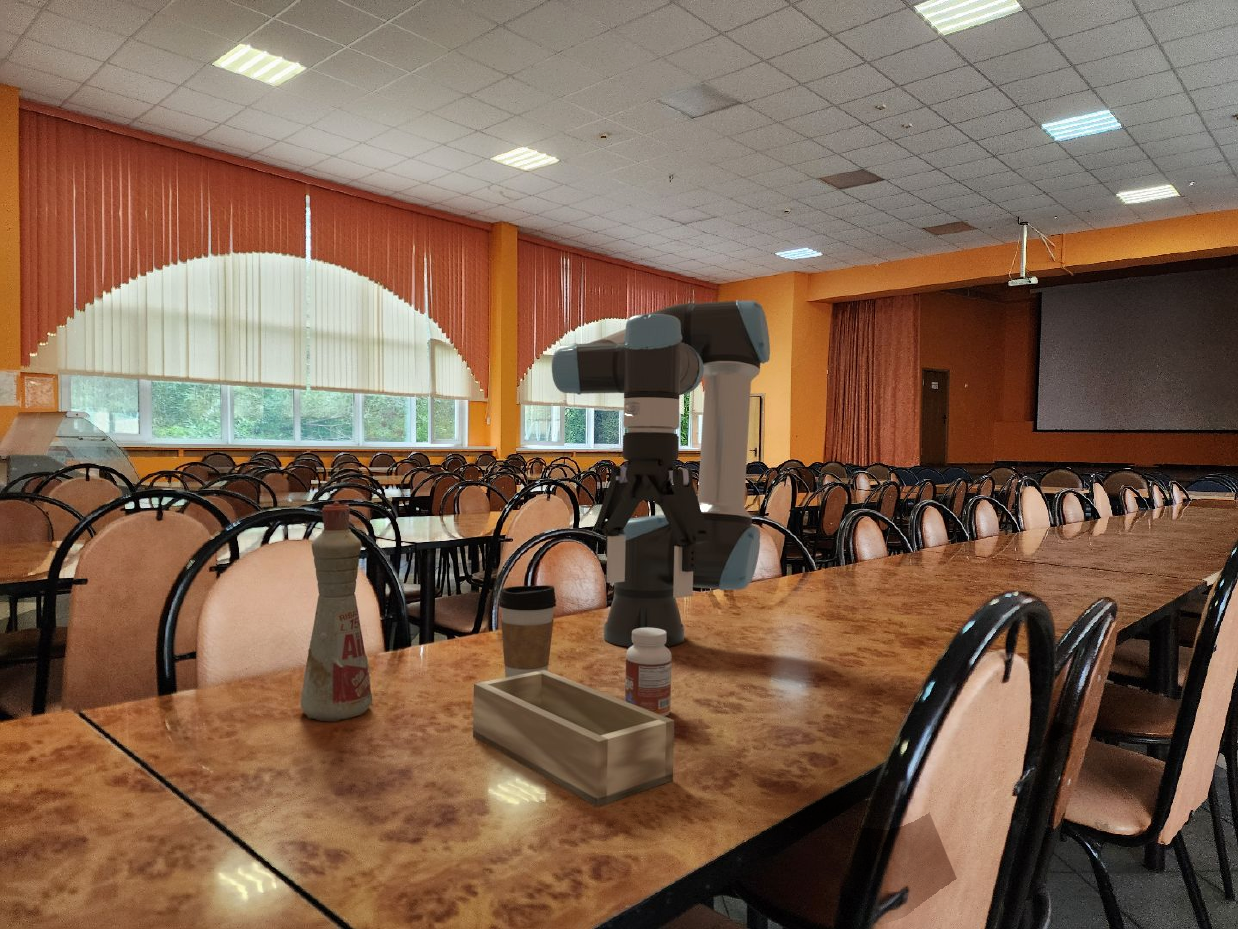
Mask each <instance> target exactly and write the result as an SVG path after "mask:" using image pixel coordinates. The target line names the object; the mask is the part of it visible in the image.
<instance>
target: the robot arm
mask: <svg viewBox="0 0 1238 929" xmlns="http://www.w3.org/2000/svg"><path fill="white" fill-rule="evenodd" d="M770 354H771V346H770V334H769V327H768V323H767V317H766V313H765V310H764V308H763V306H762V305H761V303H759V302H758V301H756V300H739V299H736V300H730V301H728V300H727V301H726V300H725V301H707V302H706V301H705V302H686V303H679V304H673V305H670V306H666V307H663V308H659V309H658V310H655V311H652V312H650V313H645V314H635V315H632V316H631V317H629V318H628V319H627V320H626V323H625V328H624V329H622V330H619V331H617V332H614V333H612V334H609V335H607V336H605V337H603V338H600V339H597V340H594V341H591V342H588V343H577V342H574V343H572V344H569V343H568V344H562V345H559V346H558V347H557V348H556V349H555V350H554V353H553V356H552V359H551V374H552V381H553V383H554V384H553V385H554V386H555V388H556V389H557V390H558V391H559V392H561V393H563V394H577V395H582V394H584V395H585V394H623V427H624V429H627V432H625V433H624V434H623V435H622V458H623V459H624V460H625V461H627V465H612V466H611V470H610V477H609V478H610V480H609V483H608V487H607V489H606V492H605V495H604V497H603V501H602V504H601V507H600V510H599V513H598V516H597V518H596V519H597V520H596V521H595V528H596V530H598V531H599V530H601V532H603V535H604V536H605V558H606V583H608V584H613V588H614V589H613V599H612V602H611V606H610V608H609V612H608V615H607V619H606V622H605V623H604V626H603V639H604V640H605V641H606V642H608V643H611V644H613V645H617V646H621V647H622V646H623V647H628V648H630V647H631V646H633V645H634V643H633V642H632V631H633V630H634V629H638V628H658V629H662V630H665V631H666V638H667V640H666V643H665V644H664V646H665V647H666V648H668V647H673V646H676V645H679V644H682V643H683V642H684V641H685V626H684V624H683V622H682V619H681V613H680V610H679V607H678V603H677V599H681V598H688V597H693V596H694V594H693V591H694V589H693V588H702V589H710V590H711V589H712V590H713V589H714V590H719V591H725V590H728V591H730V590H731V591H732V590H734V591H740V590H744V589H746V588H747V587H748V586H749V585H750V583H751V582H752V580H753V577H754V575H755V572H756V569H757V565H758V559H759V553H760V550H761V549H760V548H761V531H760V528H758V526H756V525H753V524H752V523H753V516H752V515H751V514H750V513H749V511H747V509H746V508H745V494H746V479H747V478H746V477H747V460H748V442H749V426H750V425H749V424H750V411H751V410H750V408H751V407H750V406H751V391H752V390H751V389H752V388H751V387H752V381H753V380H754V379H755V378H756V377H758V376H759V375H760V372H761V364H765V363H768V362H769V361H770V358H771V357H770ZM703 378H704V393H703V395H704V397H703V398H704V399H703V407H702V408H703V412H702V428H701V441H700V442H701V443H700V457H699V459H700V460H699V472H698V473H699V474H698V488H697V490H698V491H697V493H696V490H695V488H694V478H693V477H694V475H693V470H692V469H691V468H679V467H678V468H677V467H676V468H675V466H674V465H675V464H674V463H675V462H676V461H677V460H678V459H679V449H680V448H679V446H680V445H679V442H680V438H679V435H678V433H675V432H676V430H678V429H680V396H681V395H682V396H683V395H687V394H689V393H691V392H693V391H695V389H697V387H698V386H699V385H700V383H701V381H702V379H703ZM643 501H647V502H654V504H656V505H658V506H659V507H660V509H661V511H662V513H663V514H661V515H660V514H659V515H650V516H649V515H648V516H639V517H638V516H637V517H633V518H632V516H633V514H634V513H635V512H636V509H637V508H638V507H639V504H640V503H641V502H643Z"/></svg>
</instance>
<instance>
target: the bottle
mask: <svg viewBox="0 0 1238 929" xmlns="http://www.w3.org/2000/svg"><path fill="white" fill-rule="evenodd" d="M350 510H351V507H350V505H349V504H340V502H339V501H336V500H335V501H334V502H333V504H325V505H323V508H322V509H321V512H322V513H321V514H322V522H323V528H324V529H323V530H321V533H320V534H318V536H317V537H316V538H315V539H314V540H313V541H312V543H311V550H312V556H313V563H314V568H315V576H316V581H317V590H318V597H317V602H316V609H315V615H314V621H313V626H312V632H311V638H310V641H309V648H308V651H307V652H308V653H307V658H306V665H305V669H304V674H303V677H304V678H303V684H302V688H301V689H302V690H301V694H300V695H301V697H300V707H301V708H300V709H301V710H302V711H303V712H304V714H305V715H306V716H307V717H306V718H308V719H309V720H311V719H315V720H317V721H321V722H329V723H331V722H337V721H339V722H340V721H344V720H349V719H351V718H355V717H358V716H361V715H362V714H364V713H365V712H366V711H367V710H368V709H369V707H370V706H371V705H372V702H373V693H372V691H371V676H370V673H371V672H370V671H371V669H370V665H369V661H368V657H367V654H366V650H365V646H364V638H363V632H362V627H361V622H360V615H359V614H360V613H359V609H358V603H357V602H358V601H357V596H356V593H355V592H356V588H357V579H358V573H359V563H360V555H361V550H362V541H361V539H360V538H358V537H357V535H355V534H354V533H353V532H352V531H351V529H350V528H349V527H350V512H351V511H350Z"/></svg>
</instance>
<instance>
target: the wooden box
mask: <svg viewBox="0 0 1238 929" xmlns="http://www.w3.org/2000/svg"><path fill="white" fill-rule="evenodd" d="M472 715H473V716H472V718H473V720H472V721H473V722H472V723H473V724H472V737H474V738H475V739H476V740H479V741H480V742H482V743H484V744H486V745H487V746H489V747H491V748H493V749H494V750H496V751H498V752H500V753H501V754H503V755H505V756H507V757H508V758H510V759H512V760H513V761H516V762H518V763H519V764H521V765H523V766H524V767H526V768H528V769H530V770H532V771H533V772H535V773H537V774H538V775H540V776H541V777H544V778H546V779H547V780H548V781H550V782H553V783H554V784H556V785H557V786H560V787H561V788H562V789H565V790H567V791H569V792H570V793H572V794H573V795H575V796H577V797H579V798H580V799H583V800H585V801H586V802H587V803H590V804H591V805H593V806H595V807H596V808H599V807H601V806H603V805H607V804H609V803H613V802H615V801H618V800H621V799H624V798H627V797H629V796H633V795H635V794H638V793H641V792H644V791H647V790H650V789H652V788H655V787H659V786H661V785H664V784H667V783H671V782H673V781H674V754H675V753H674V750H675V749H674V748H675V745H674V744H675V742H674V741H675V720H674V719H671V718H668V716H667V717H666V716H665V717H664V716H662V715H659V714H656V713H654V712H651V711H649V710H646V709H644V708H641V707H638V706H636V705H633V704H631V703H628V702H626V701H625V700H623V699H620V698H618V697H615V696H612V695H609V694H607V693H604V692H602V691H599V690H598V689H594V688H592V687H589V686H587V685H583V684H581V683H579V682H577V681H574V680H571V679H569V678H566V677H564V676H562V675H558V674H555V673H554V672H550V671H549V670H548V671H546V670H541V671H536V672H531V673H526V674H521V675H515V676H510V677H505V676H504V677H502V678H500V677H499V678H497V679H491V680H486V681H485V680H484V681H480V682H476V683H473V714H472Z"/></svg>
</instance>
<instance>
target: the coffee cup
mask: <svg viewBox="0 0 1238 929" xmlns="http://www.w3.org/2000/svg"><path fill="white" fill-rule="evenodd" d="M555 591H556V590H555V587H554V585H547V584H546V585H545V584H544V585H542V584H541V585H515V586H508V587H505V588H502V589H501V591H500V597H499V600H498V602H499V603H498V606H499V607H500V608H501V620H500V626H501V638H502V639H501V640H502V651H503V661H504V662H503V664H504V675H505V676H504V678H505V677H510V676H515V675H521V674H526V673H531V672H536V671H541V670H546V671H548V672H549V664H550V663H549V662H550V654H551V647H552V646H551V645H552V636H553V626H554V619H553V614H554V607H556V606H557V604H556V603H557V599H556V592H555Z"/></svg>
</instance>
